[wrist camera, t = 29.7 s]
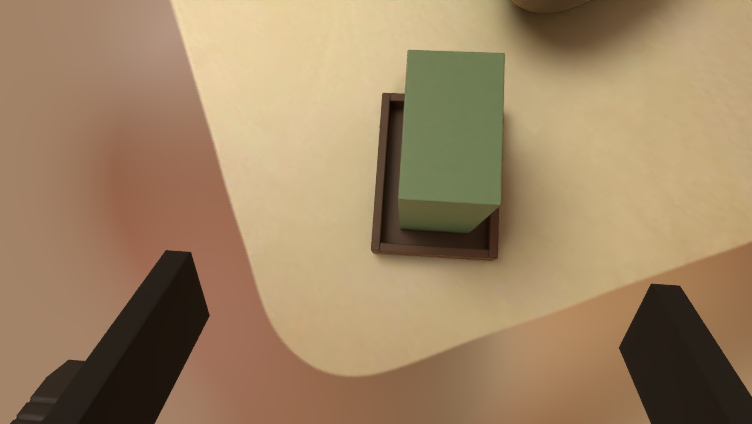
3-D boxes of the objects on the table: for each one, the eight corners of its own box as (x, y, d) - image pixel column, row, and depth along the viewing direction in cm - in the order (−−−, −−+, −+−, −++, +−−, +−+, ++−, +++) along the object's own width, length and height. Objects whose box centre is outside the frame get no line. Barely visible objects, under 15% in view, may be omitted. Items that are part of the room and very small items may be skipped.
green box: (399, 229, 33) (397, 199, 22) (406, 125, 34) (407, 49, 24) (468, 233, 33) (501, 205, 22) (472, 128, 34) (505, 52, 23)
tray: (372, 252, 33) (370, 250, 31) (383, 103, 35) (382, 92, 33) (492, 260, 33) (497, 258, 31) (496, 108, 35) (501, 97, 33)
